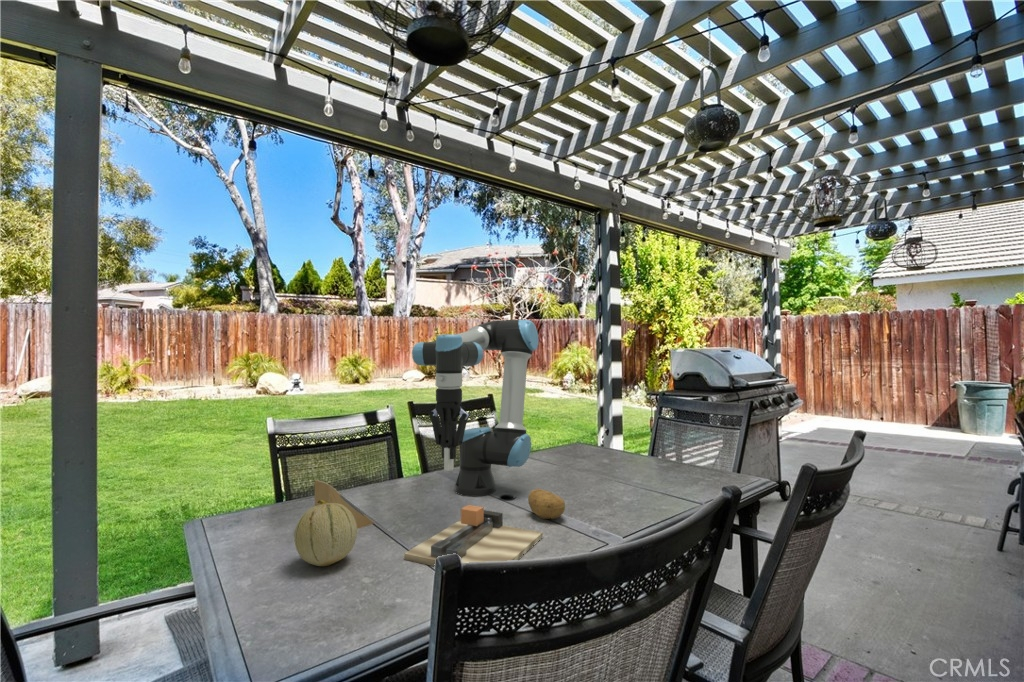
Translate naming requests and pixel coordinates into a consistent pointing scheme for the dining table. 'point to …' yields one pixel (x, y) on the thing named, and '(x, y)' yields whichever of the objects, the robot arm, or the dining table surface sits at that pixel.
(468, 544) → the upper tong arm
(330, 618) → the dining table surface
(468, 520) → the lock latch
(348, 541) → the cantaloupe
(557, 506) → the potato
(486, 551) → the tongs board
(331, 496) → the sandwich container
